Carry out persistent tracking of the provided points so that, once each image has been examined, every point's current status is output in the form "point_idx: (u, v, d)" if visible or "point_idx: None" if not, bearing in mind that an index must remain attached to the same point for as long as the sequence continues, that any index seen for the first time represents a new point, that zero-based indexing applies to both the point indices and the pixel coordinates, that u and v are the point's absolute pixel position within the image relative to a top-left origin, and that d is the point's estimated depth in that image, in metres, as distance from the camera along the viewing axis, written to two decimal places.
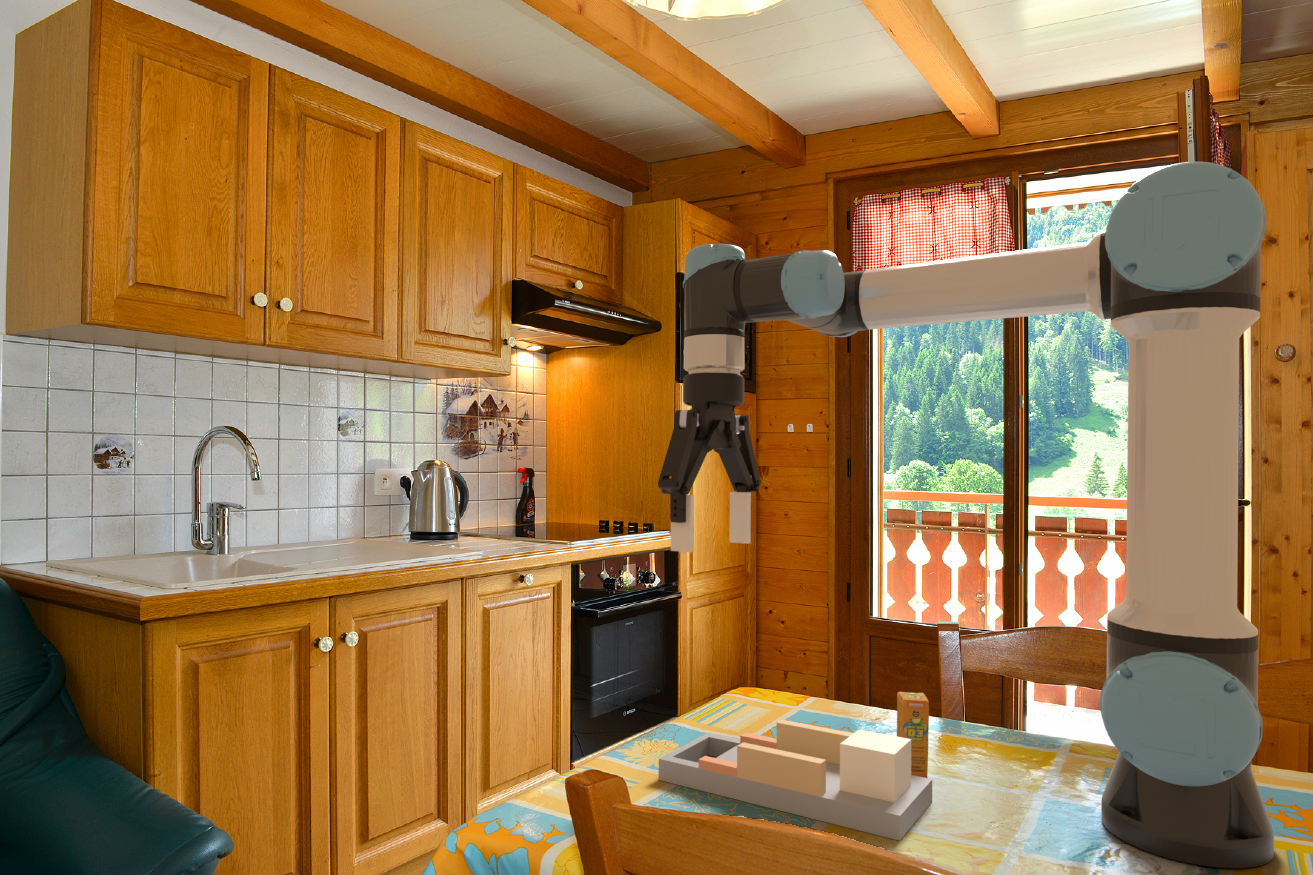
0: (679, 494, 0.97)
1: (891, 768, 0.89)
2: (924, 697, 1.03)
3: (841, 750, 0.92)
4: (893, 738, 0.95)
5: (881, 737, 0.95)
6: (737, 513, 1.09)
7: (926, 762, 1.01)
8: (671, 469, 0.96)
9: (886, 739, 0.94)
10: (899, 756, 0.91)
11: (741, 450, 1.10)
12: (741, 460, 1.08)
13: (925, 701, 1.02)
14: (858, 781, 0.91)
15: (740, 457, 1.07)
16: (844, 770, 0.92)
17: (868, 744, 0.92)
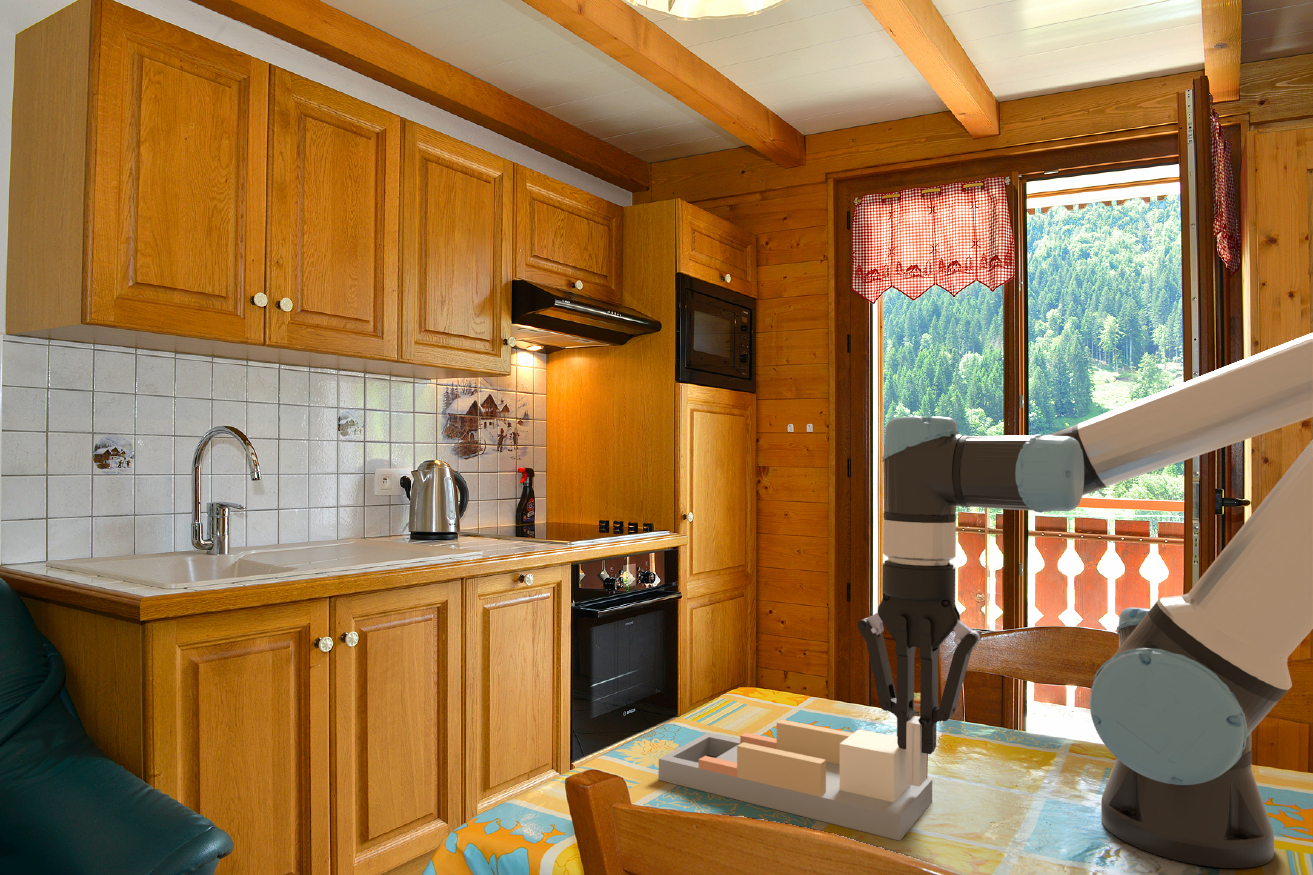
0: None
1: (891, 768, 0.89)
2: None
3: (841, 750, 0.92)
4: (893, 738, 0.95)
5: (880, 737, 0.95)
6: None
7: None
8: None
9: (885, 739, 0.94)
10: (898, 756, 0.91)
11: None
12: (927, 676, 0.90)
13: None
14: (858, 781, 0.91)
15: (927, 672, 0.90)
16: (844, 770, 0.92)
17: (868, 744, 0.92)
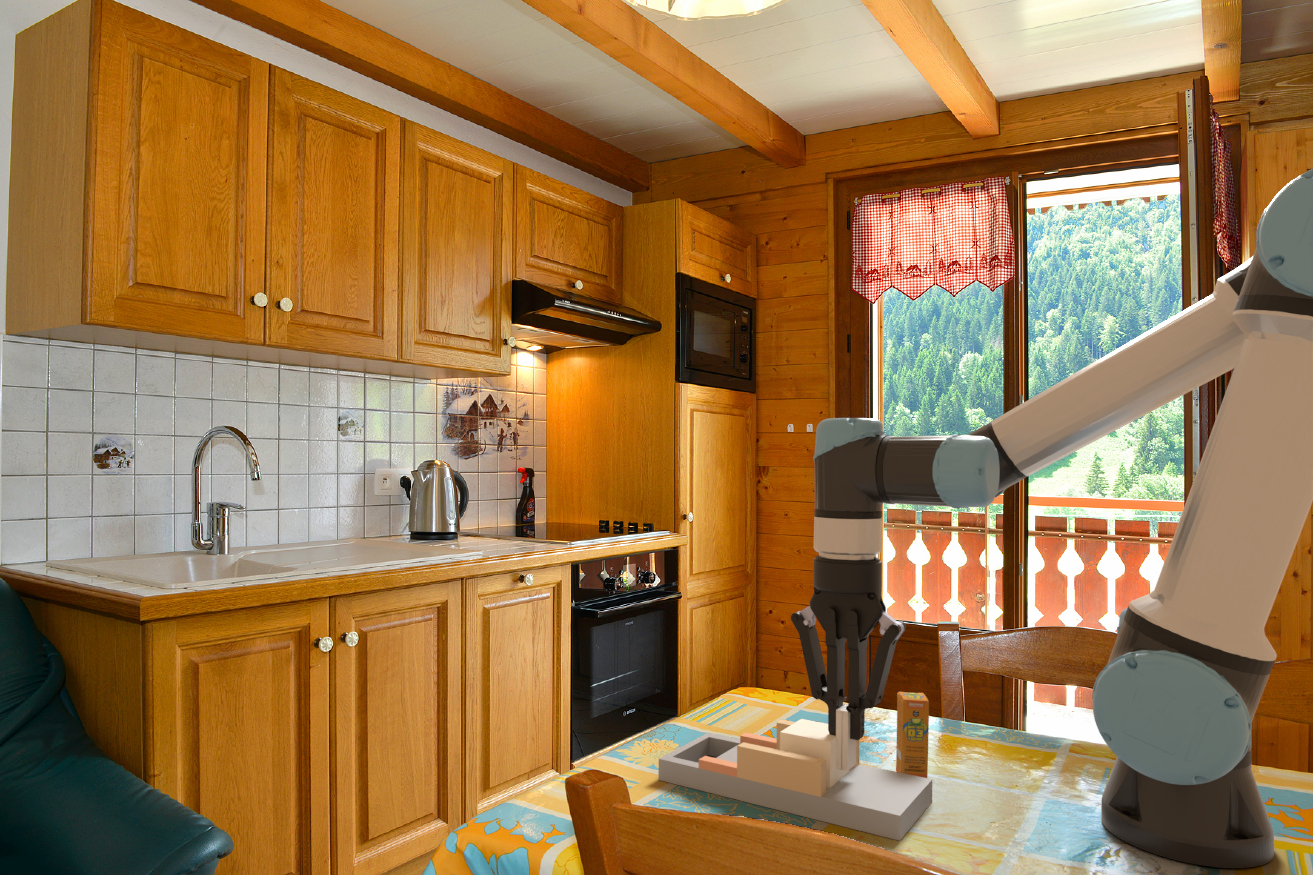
0: (827, 705, 0.96)
1: (827, 755, 0.93)
2: (924, 697, 1.03)
3: (781, 738, 0.96)
4: None
5: (820, 725, 0.99)
6: None
7: (926, 762, 1.01)
8: None
9: (825, 727, 0.98)
10: (835, 743, 0.94)
11: None
12: (854, 666, 0.94)
13: (925, 701, 1.02)
14: None
15: (854, 661, 0.94)
16: None
17: (807, 732, 0.96)
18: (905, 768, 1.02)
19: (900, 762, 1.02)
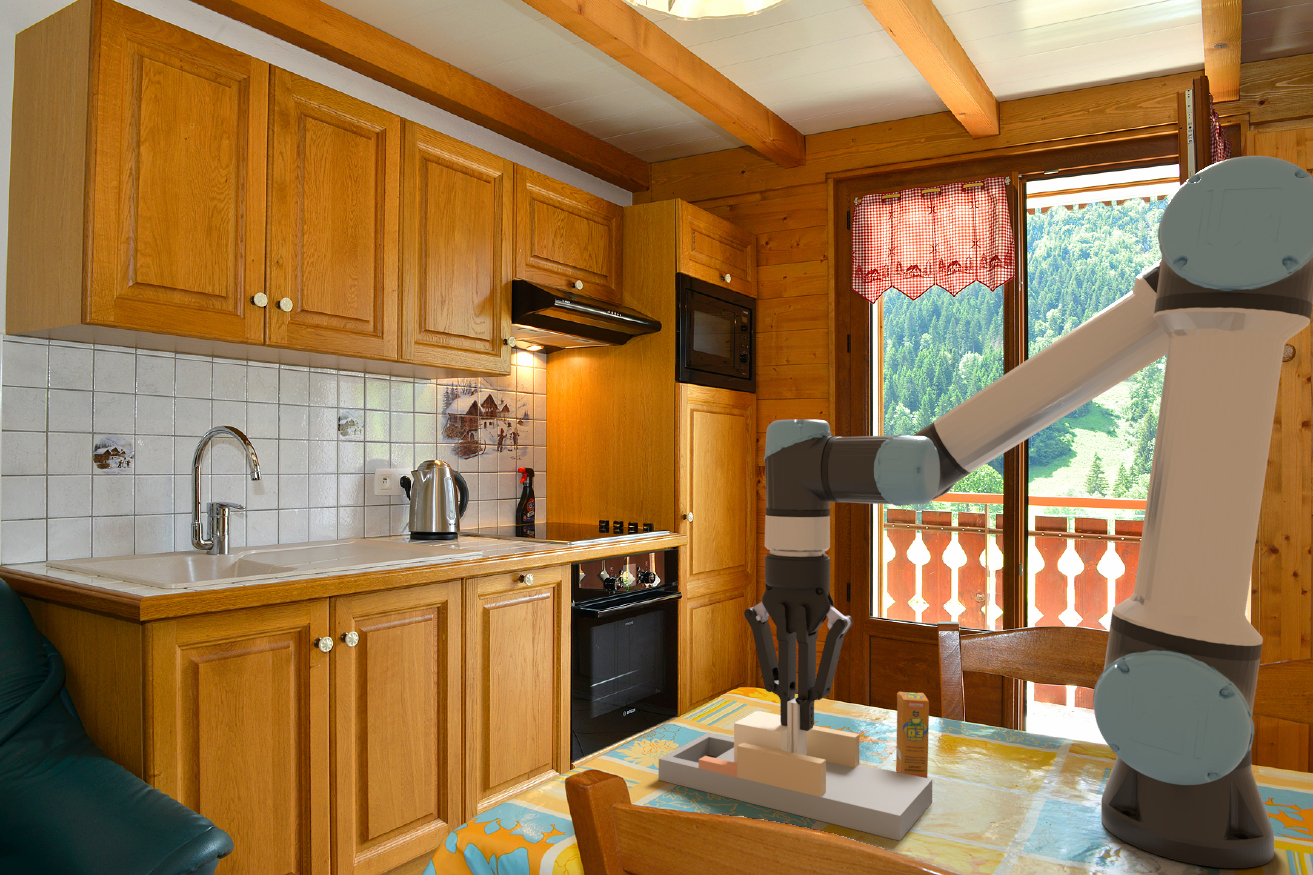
0: (780, 697, 0.99)
1: (778, 745, 0.96)
2: (924, 697, 1.03)
3: (735, 729, 0.99)
4: None
5: (774, 717, 1.02)
6: None
7: (926, 762, 1.01)
8: None
9: (779, 719, 1.01)
10: None
11: None
12: (803, 659, 0.97)
13: (925, 701, 1.02)
14: None
15: (804, 655, 0.97)
16: None
17: (760, 723, 0.99)
18: (905, 768, 1.02)
19: (900, 762, 1.02)
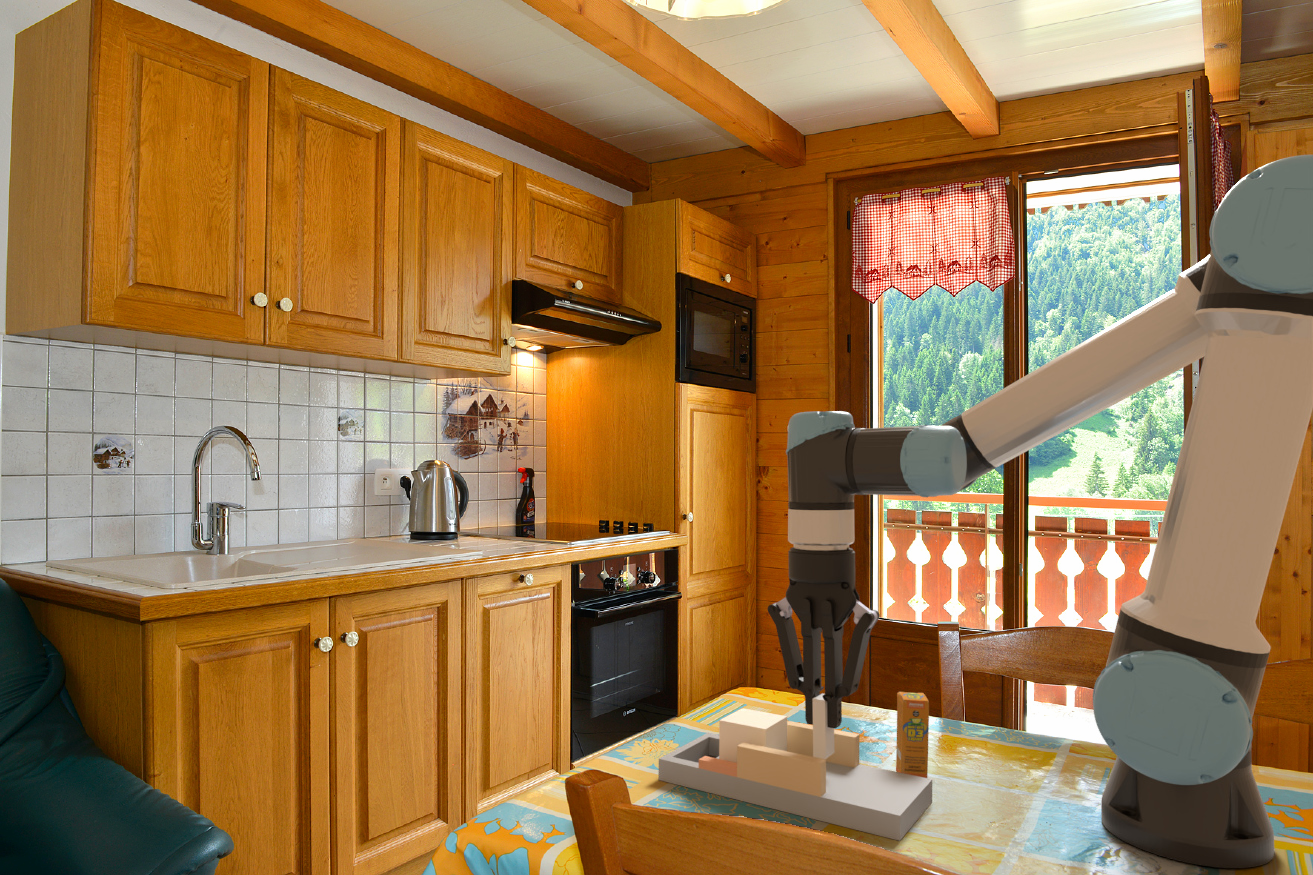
0: (804, 694, 0.97)
1: (763, 742, 0.97)
2: (924, 697, 1.03)
3: (720, 726, 1.00)
4: (771, 715, 1.03)
5: (760, 714, 1.03)
6: None
7: (926, 762, 1.01)
8: None
9: (764, 716, 1.02)
10: (771, 731, 0.99)
11: None
12: (830, 655, 0.95)
13: (925, 701, 1.02)
14: (735, 754, 0.99)
15: (830, 651, 0.95)
16: (723, 744, 1.00)
17: (745, 720, 1.00)
18: (905, 768, 1.02)
19: (900, 762, 1.02)
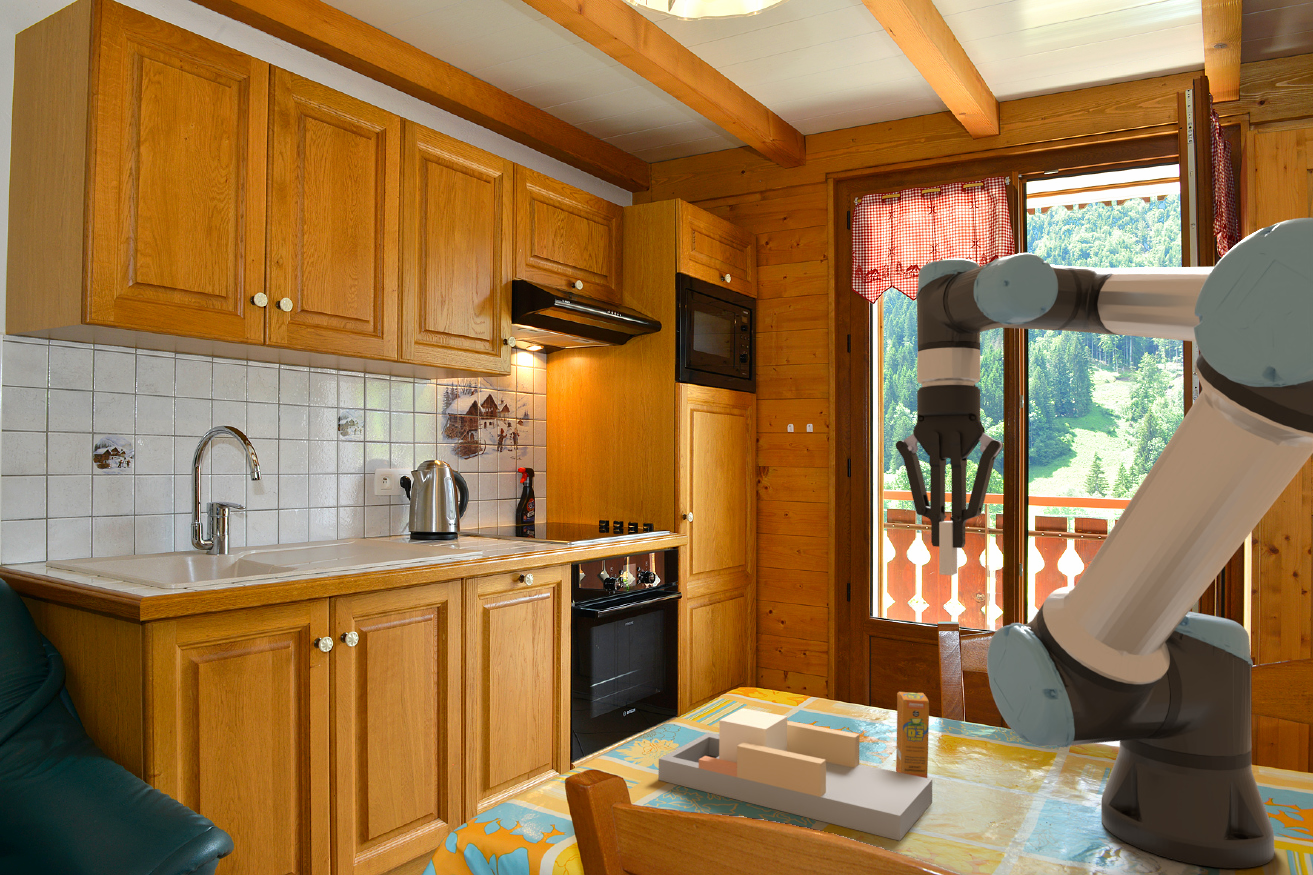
0: (930, 520, 1.07)
1: (763, 742, 0.97)
2: (924, 697, 1.03)
3: (720, 726, 1.00)
4: (771, 715, 1.03)
5: (760, 714, 1.03)
6: None
7: (926, 762, 1.01)
8: None
9: (764, 716, 1.02)
10: (771, 731, 0.99)
11: None
12: (957, 481, 1.05)
13: (925, 701, 1.02)
14: (735, 754, 0.99)
15: (957, 477, 1.05)
16: (723, 744, 1.00)
17: (745, 720, 1.00)
18: (905, 768, 1.02)
19: (900, 762, 1.02)
